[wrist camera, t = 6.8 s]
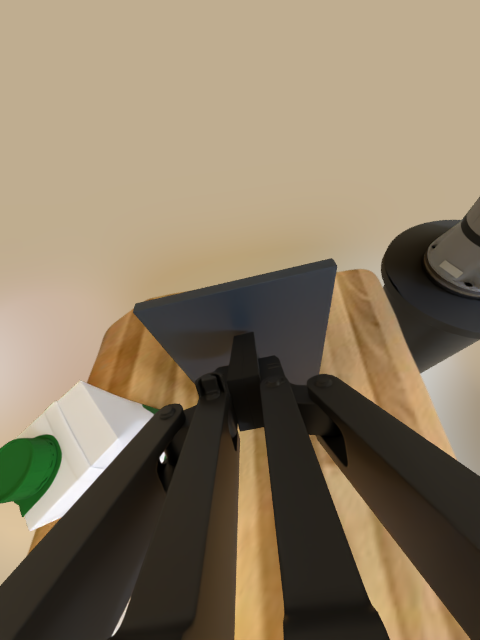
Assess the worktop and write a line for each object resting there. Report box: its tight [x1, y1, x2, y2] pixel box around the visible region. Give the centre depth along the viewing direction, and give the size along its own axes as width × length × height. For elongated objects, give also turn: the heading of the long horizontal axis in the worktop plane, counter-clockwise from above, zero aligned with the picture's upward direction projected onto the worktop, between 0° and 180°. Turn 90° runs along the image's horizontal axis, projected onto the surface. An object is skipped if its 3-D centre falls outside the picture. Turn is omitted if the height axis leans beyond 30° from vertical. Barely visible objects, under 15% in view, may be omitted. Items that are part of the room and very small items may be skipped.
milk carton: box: [0, 380, 166, 531], centre depth 25 cm, size 9×9×20 cm
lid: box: [133, 259, 337, 385], centre depth 20 cm, size 17×13×1 cm
